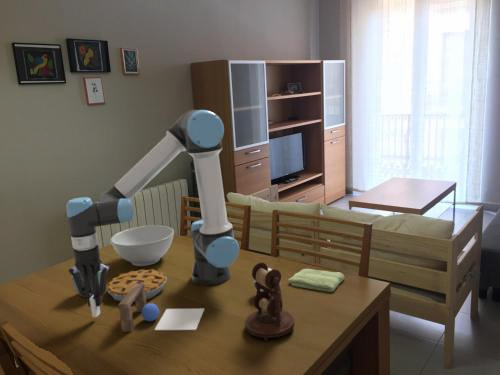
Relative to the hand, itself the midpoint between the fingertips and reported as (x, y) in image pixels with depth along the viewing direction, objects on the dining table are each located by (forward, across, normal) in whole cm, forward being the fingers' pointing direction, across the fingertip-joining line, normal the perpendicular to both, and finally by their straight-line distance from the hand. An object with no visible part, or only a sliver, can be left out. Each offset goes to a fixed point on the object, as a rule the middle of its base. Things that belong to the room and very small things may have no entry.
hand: (96, 314), depth 143 cm
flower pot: (+2, -11, +19) cm, 22 cm away
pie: (+2, +6, +22) cm, 23 cm away
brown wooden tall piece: (+2, +57, -6) cm, 57 cm away
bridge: (+2, +13, 0) cm, 13 cm away
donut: (+2, +55, +16) cm, 57 cm away
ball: (-1, +18, 0) cm, 18 cm away
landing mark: (+2, +28, 0) cm, 28 cm away
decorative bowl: (+2, -1, +51) cm, 51 cm away
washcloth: (+3, +72, +26) cm, 77 cm away
